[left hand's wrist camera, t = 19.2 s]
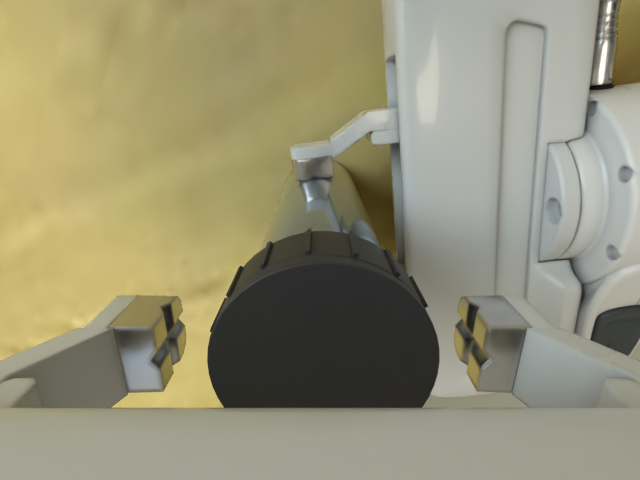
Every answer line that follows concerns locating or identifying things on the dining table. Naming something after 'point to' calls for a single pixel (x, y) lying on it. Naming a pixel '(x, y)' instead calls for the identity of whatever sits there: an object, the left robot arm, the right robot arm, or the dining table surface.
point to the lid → (323, 329)
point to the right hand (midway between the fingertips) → (301, 222)
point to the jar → (321, 208)
